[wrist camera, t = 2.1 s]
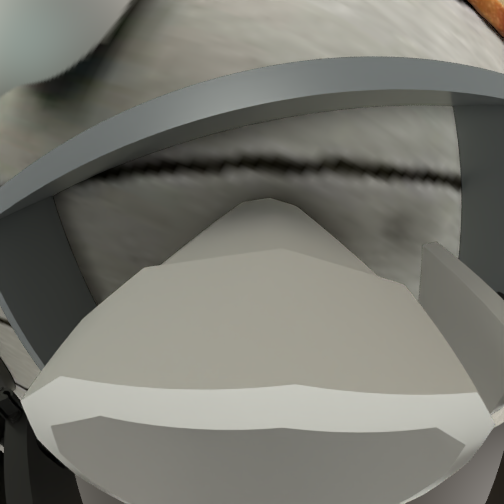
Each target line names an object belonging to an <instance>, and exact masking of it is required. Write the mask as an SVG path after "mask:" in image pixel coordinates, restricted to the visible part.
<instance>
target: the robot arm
mask: <svg viewBox="0 0 504 504" xmlns="http://www.w3.org/2000/svg"><path fill="white" fill-rule="evenodd" d="M418 302H419V303H420V304H421V306H422V307H423V309H424V310H425V311H426V313H427V314H428V316H429V317H430V318H431V320H432V321H433V322H434V324H435V325H436V327H437V328H438V329H439V331H440V332H441V334H442V335H443V336H444V338H445V339H446V341H447V342H448V344H449V345H450V347H451V348H452V350H453V351H454V353H455V354H456V356H457V358H458V359H459V361H460V362H461V364H462V365H463V367H464V369H465V370H466V372H467V374H468V375H469V377H470V379H471V380H472V382H473V384H474V385H475V387H476V389H477V391H478V392H479V394H480V396H481V398H482V400H483V401H484V403H485V405H486V407H487V409H488V411H489V413H490V415H492V414H493V413H495V412H497V411H498V410H500V409H502V408H503V407H504V294H503V293H501V292H497V293H496V292H495V291H494V290H493V289H492V288H491V287H490V286H489V285H487V284H486V283H485V282H484V281H483V280H482V279H481V278H480V277H479V276H478V275H476V274H475V273H474V272H473V271H472V270H471V269H470V268H468V267H467V266H466V265H465V264H464V263H463V262H461V261H460V260H459V259H458V258H457V257H455V256H454V255H453V254H452V253H450V252H449V251H448V250H447V249H445V248H444V247H443V246H442V245H440V244H439V243H438V242H433V243H428V244H424V245H422V260H421V277H420V289H419V299H418ZM14 389H15V383H14V381H13V379H12V377H11V375H10V373H9V371H8V370H7V368H6V367H5V365H4V364H3V362H2V361H1V359H0V444H1V445H2V446H3V447H4V453H3V452H2V451H0V504H83V503H82V499H81V496H80V493H79V489H78V486H77V482H76V478H75V474H74V473H73V472H72V471H71V470H70V469H69V468H68V467H66V466H65V465H64V464H63V463H62V462H61V461H60V460H59V459H57V458H56V457H55V456H54V455H53V454H52V453H51V452H50V451H49V450H48V449H47V448H46V447H45V446H44V445H43V444H42V443H41V442H40V441H39V440H38V439H37V437H36V435H35V433H34V431H33V429H32V427H31V425H30V422H29V420H28V418H27V416H26V413H25V411H24V409H23V406H22V404H21V400H20V399H19V398H18V397H17V396H16V394H15V393H14V392H13V391H14ZM485 504H504V453H503V456H502V459H501V463H500V466H499V469H498V472H497V475H496V478H495V481H494V484H493V486H492V489H491V491H490V494H489V496H488V499H487V501H486V503H485Z"/></svg>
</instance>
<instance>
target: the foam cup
mask: <svg viewBox="0 0 504 504" xmlns="http://www.w3.org/2000/svg"><path fill="white" fill-rule="evenodd" d="M21 404H22V406H23V409H24V411H25V413H26V416H27V418H28V420H29V422H30V425H31V427H32V429H33V431H34V433H35V435H36V437H37V439H38V440H39V441H40V442H41V443H42V444H43V445H44V446H45V447H46V448H47V449H48V450H49V451H50V452H51V453H52V454H53V455H54V456H55V457H56V458H57V459H59V460H60V461H61V462H62V463H63V464H64V465H65V466H66V467H68V468H69V469H70V470H71V471H72V472H73V473H75V474H76V475H77V476H79V477H80V478H82V479H83V480H85V481H87V482H88V483H90V484H92V485H93V486H95V487H97V488H98V489H100V490H102V491H103V492H105V493H107V494H109V495H111V496H113V497H114V498H117V499H118V500H121V501H122V502H124V503H126V504H404V503H407V502H409V501H411V500H413V499H415V498H417V497H419V496H421V495H423V494H425V493H426V492H428V491H430V490H431V489H433V488H434V487H435V486H437V485H439V484H440V483H442V482H443V481H444V480H446V479H447V478H449V477H450V476H451V475H453V474H454V473H455V472H457V471H458V470H459V469H460V468H462V467H463V466H464V465H465V464H467V463H468V462H469V461H470V460H471V458H472V457H473V456H474V455H475V453H476V452H477V451H478V449H479V448H480V446H481V445H482V444H483V442H484V441H485V439H486V438H487V436H488V435H489V433H490V432H491V430H492V429H493V427H494V426H495V423H494V421H493V419H492V417H491V415H490V413H489V411H488V409H487V407H486V405H485V403H484V401H483V400H482V398H481V396H480V394H479V392H478V391H477V389H476V387H475V385H474V384H473V382H472V380H471V379H470V377H469V375H468V374H467V372H466V370H465V369H464V367H463V365H462V364H461V362H460V361H459V359H458V358H457V356H456V354H455V353H454V351H453V350H452V348H451V347H450V345H449V344H448V342H447V341H446V339H445V338H444V336H443V335H442V334H441V332H440V331H439V329H438V328H437V327H436V325H435V324H434V322H433V321H432V320H431V318H430V317H429V316H428V314H427V313H426V312H425V310H424V309H423V308H422V306H421V305H420V304H419V302H418V301H417V300H416V299H415V297H414V296H413V295H412V293H411V292H410V291H409V290H408V288H407V287H406V286H405V285H404V284H402V283H398V282H395V281H392V280H388V279H385V278H382V277H379V276H377V275H376V274H375V273H374V272H373V271H372V270H371V269H370V268H369V267H368V266H366V265H365V264H364V263H363V262H362V261H361V260H360V259H359V258H358V257H356V256H355V255H354V254H353V253H352V252H351V251H350V250H348V249H347V248H346V247H345V246H344V245H343V244H342V243H340V242H339V241H338V240H337V239H336V238H335V237H333V236H332V235H331V234H330V233H329V232H327V231H326V230H325V229H324V228H323V227H321V226H320V225H319V224H318V223H317V222H315V221H314V220H313V219H312V218H311V217H309V216H308V215H307V214H306V213H304V212H303V211H302V210H301V209H300V208H298V207H296V206H295V205H292V204H289V203H285V202H282V201H279V200H275V199H272V198H265V199H259V200H253V201H246V202H242V203H241V204H239V205H238V206H236V207H235V208H233V209H232V210H231V211H229V212H228V213H226V214H225V215H224V216H222V217H221V218H219V219H218V220H217V221H215V222H214V223H213V224H211V225H210V226H209V227H208V228H206V229H205V230H204V231H202V232H201V233H200V234H199V235H197V236H196V237H195V238H193V239H192V240H191V241H190V242H188V243H187V244H186V245H185V246H183V247H182V248H181V249H179V250H178V251H177V252H176V253H174V254H173V255H172V256H171V257H170V258H168V259H167V260H166V261H165V262H163V263H162V264H161V265H158V266H151V267H144V268H143V269H142V270H140V271H139V272H138V273H137V274H135V275H134V276H133V277H132V278H131V279H129V280H128V281H127V282H126V283H124V284H123V285H122V286H121V287H120V288H118V289H117V290H116V291H115V292H114V293H112V294H111V295H110V296H109V297H108V298H106V299H105V300H104V301H103V302H102V303H101V304H99V305H98V306H97V307H96V308H95V309H94V310H92V311H91V312H90V313H89V314H88V315H87V316H85V317H84V318H83V319H82V320H81V322H80V323H79V324H78V325H77V326H76V328H75V329H74V330H73V331H72V332H71V334H70V335H69V336H68V337H67V339H66V340H65V341H64V342H63V344H62V345H61V346H60V347H59V349H58V350H57V351H56V352H55V354H54V355H53V356H52V358H51V359H50V360H49V362H48V363H47V364H46V366H45V367H44V368H43V370H42V371H41V372H40V374H39V375H38V376H37V378H36V379H35V381H34V382H33V383H32V385H31V386H30V388H29V389H28V391H27V392H26V393H25V395H24V396H23V398H22V399H21Z"/></svg>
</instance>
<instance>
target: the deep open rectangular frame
mask: <svg viewBox="0 0 504 504" xmlns="http://www.w3.org/2000/svg"><path fill="white" fill-rule="evenodd" d="M401 105H437V106H453V108H454V114H455V120H456V127H457V134H458V142H459V152H460V164H461V182H462V222H461V240H460V253H459V260H460V261H461V262H463V263H464V264H465V265H466V266H467V267H468V268H470V269H471V270H472V271H473V272H474V273H475V274H476V275H478V276H479V277H480V278H481V279H482V280H483V281H484V282H485V283H486V284H487V285H489V286H490V287H491V288H492V289H493V290H494V291H495V292H496V293H497V292H501V293H503V294H504V74H502V73H498V72H494V71H491V70H487V69H482V68H478V67H473V66H468V65H463V64H457V63H451V62H444V61H437V60H428V59H418V58H404V57H341V58H327V59H316V60H307V61H299V62H291V63H285V64H279V65H273V66H267V67H262V68H257V69H252V70H247V71H243V72H239V73H234V74H230V75H226V76H222V77H219V78H215V79H211V80H208V81H205V82H201V83H198V84H195V85H191V86H188V87H185V88H182V89H179V90H176V91H174V92H171V93H168V94H165V95H163V96H160V97H157V98H155V99H152V100H150V101H147V102H145V103H142V104H140V105H137V106H135V107H133V108H131V109H128V110H126V111H124V112H122V113H119V114H117V115H115V116H113V117H111V118H109V119H107V120H105V121H103V122H101V123H99V124H97V125H95V126H93V127H91V128H89V129H87V130H86V131H84V132H82V133H80V134H78V135H77V136H75V137H73V138H71V139H70V140H68V141H66V142H65V143H63V144H61V145H60V146H58V147H56V148H55V149H53V150H52V151H50V152H48V153H47V154H45V155H44V156H42V157H41V158H39V159H38V160H36V161H35V162H34V163H32V164H31V165H29V166H28V167H26V168H25V169H24V170H22V171H21V172H20V173H18V174H17V175H16V176H14V177H13V178H12V179H10V180H9V181H8V182H7V183H5V184H4V185H3V186H2V187H0V306H1V308H2V310H3V312H4V314H5V315H6V317H7V319H8V321H9V323H10V324H11V326H12V328H13V329H14V331H15V333H16V334H17V336H18V338H19V339H20V341H21V343H22V344H23V346H24V347H25V349H26V350H27V352H28V353H29V355H30V356H31V358H32V359H33V360H34V362H35V363H36V365H37V366H38V367H39V369H40V370H41V371H42V370H43V368H44V367H45V366H46V364H47V363H48V362H49V360H50V359H51V358H52V356H53V355H54V354H55V352H56V351H57V350H58V349H59V347H60V346H61V345H62V344H63V342H64V341H65V340H66V339H67V337H68V336H69V335H70V334H71V332H72V331H73V330H74V329H75V328H76V326H77V325H78V324H79V323H80V322H81V320H82V319H83V318H84V317H85V316H87V315H88V314H89V313H90V312H91V311H92V310H94V309H95V308H96V307H97V306H96V304H95V302H94V300H93V298H92V296H91V294H90V292H89V289H88V287H87V285H86V283H85V281H84V279H83V276H82V274H81V272H80V270H79V267H78V265H77V263H76V260H75V258H74V256H73V253H72V251H71V248H70V246H69V243H68V240H67V238H66V235H65V232H64V230H63V227H62V224H61V221H60V218H59V215H58V212H57V209H56V206H55V203H54V199H53V195H55V194H57V193H59V192H61V191H63V190H65V189H67V188H69V187H71V186H73V185H75V184H77V183H79V182H81V181H84V180H86V179H88V178H90V177H92V176H95V175H97V174H99V173H102V172H104V171H106V170H109V169H111V168H113V167H116V166H118V165H121V164H123V163H126V162H128V161H131V160H134V159H136V158H139V157H142V156H144V155H147V154H150V153H153V152H156V151H159V150H162V149H164V148H167V147H171V146H174V145H177V144H180V143H183V142H186V141H190V140H193V139H196V138H200V137H203V136H207V135H211V134H214V133H218V132H222V131H226V130H230V129H234V128H238V127H242V126H247V125H251V124H256V123H260V122H265V121H270V120H275V119H280V118H286V117H292V116H298V115H304V114H311V113H317V112H325V111H333V110H342V109H352V108H363V107H378V106H401Z"/></svg>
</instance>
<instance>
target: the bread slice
mask: <svg viewBox="0 0 504 504" xmlns="http://www.w3.org/2000/svg"><path fill="white" fill-rule="evenodd" d="M467 1H468V2H469V3H470V4H471V5H472V6H473V7H474V8H475V9H476V11H477V12H478V13H479V14H480V15H481V16H482V17H483V18H485V19H486V20H487V21H488V22H489V23H490V24H491V25H492V26H493V27H494V28H495V29H496V30H497V32H498V33H499V34H500V35H501V36H503V37H504V0H467Z"/></svg>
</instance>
